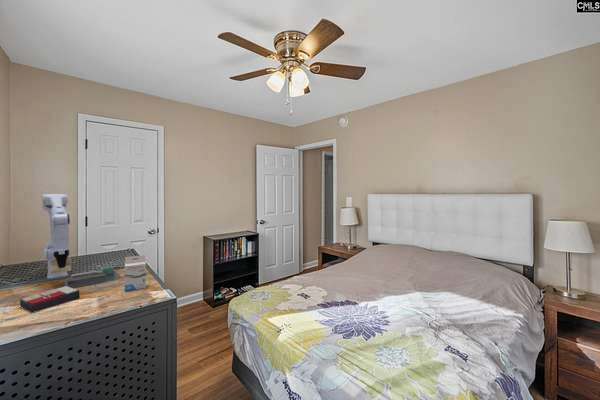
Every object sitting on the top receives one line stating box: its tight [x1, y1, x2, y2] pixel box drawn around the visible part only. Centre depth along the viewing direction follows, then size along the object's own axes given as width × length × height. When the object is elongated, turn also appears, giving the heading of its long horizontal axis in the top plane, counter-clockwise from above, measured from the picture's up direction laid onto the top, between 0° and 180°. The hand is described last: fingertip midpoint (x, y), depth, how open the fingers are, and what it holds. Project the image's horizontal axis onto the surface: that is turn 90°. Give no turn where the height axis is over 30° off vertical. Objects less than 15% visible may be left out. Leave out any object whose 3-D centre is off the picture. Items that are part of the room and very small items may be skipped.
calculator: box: [19, 286, 81, 313], centre depth 107 cm, size 11×4×15 cm
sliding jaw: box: [71, 265, 115, 279], centre depth 138 cm, size 3×18×4 cm, turn 134°
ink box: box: [124, 254, 147, 292], centre depth 123 cm, size 8×5×15 cm, turn 123°
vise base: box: [63, 270, 123, 289], centre depth 134 cm, size 19×22×4 cm
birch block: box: [51, 256, 72, 274], centre depth 126 cm, size 4×7×6 cm, turn 133°
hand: (61, 266), depth 127 cm, fingers closed on birch block, 4 cm apart
